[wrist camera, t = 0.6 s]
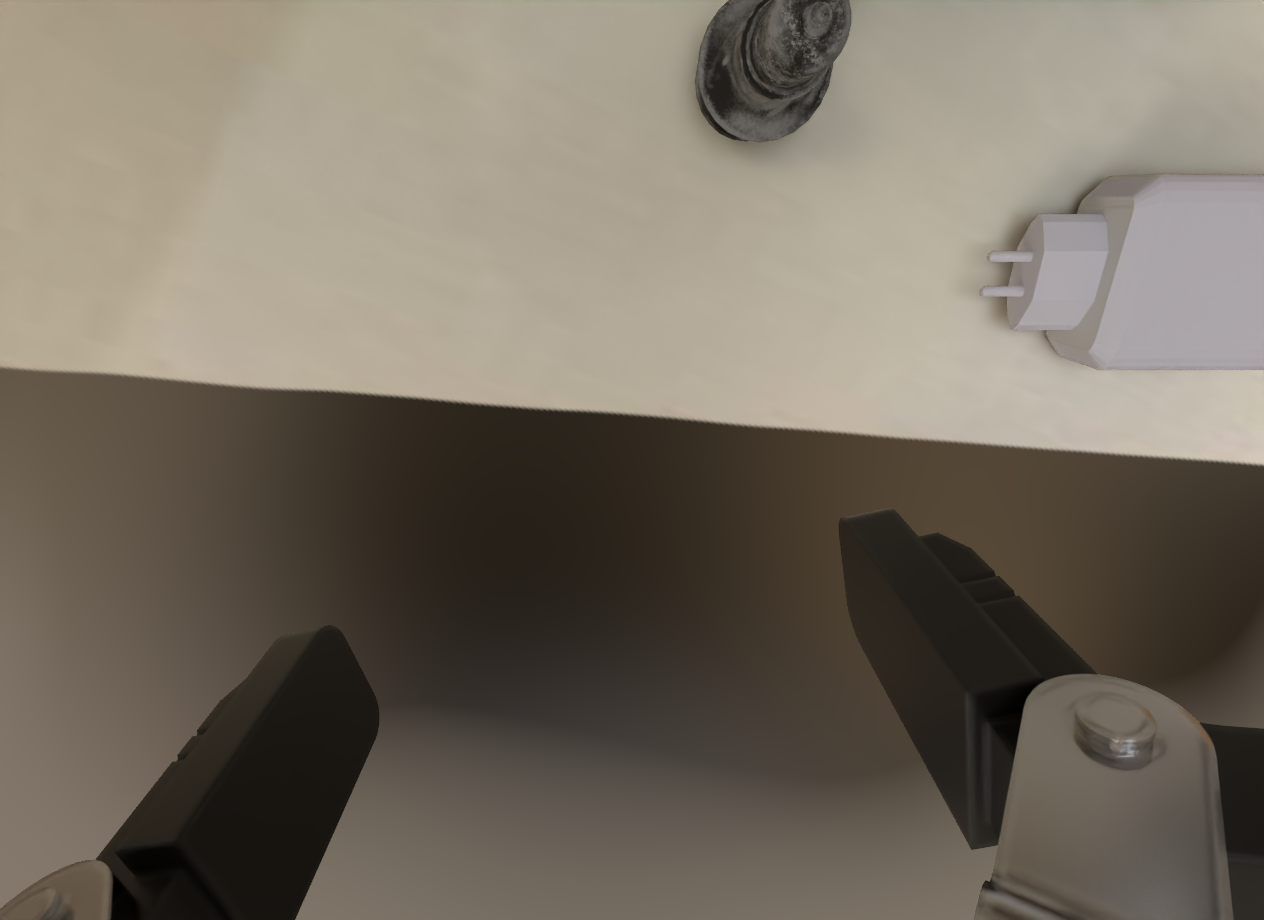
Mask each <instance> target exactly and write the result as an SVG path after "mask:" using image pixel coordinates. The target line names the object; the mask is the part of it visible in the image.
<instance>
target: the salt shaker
mask: <svg viewBox="0 0 1264 920" xmlns="http://www.w3.org/2000/svg"><path fill="white" fill-rule="evenodd" d="M850 27H851V8H850V3H849V0H729V1H728V2H726V3H725V4H724V5H723V6H722V7H721V8H720V9H719V10H718V12H717V13H716V15H715V16H714V18H713V19H712V21H711V22H710V24H709V25H708V27H707V30H706V33H705V35H704V38H703V41H702V43H701V46H700V53H699V60H698V65H697V72H696V79H695V83H696V95H697V99H698V102H699V105H700V108H701V111H702V113H703V115H704V116H705V118H706V119H707V121H708V122H709V124H710V125H711V126H712V127H713V128H714V129H716V130H717V131H718V132H719V133H720V134H722V135H724V136H726V137H728V138H730V139H733V140H740V141H755V142H765V141H771V140H777V139H779V138H782V137H784V136H786V135H788V134H790V133H793V132H794V131H796V130H797V129H798V128H799V127H800V126H802V125H803V124H804V123H805V122H807V121H808V120H809V119H810V117H811V116H812V115H813V113H814V112H815V111H816V109H817V108H818V107H819V105H820V104H821V102H822V99H823V97H824V95H825V93H826V91H827V88H828V86H829V82H830V77H831V72H832V68H833V62H834V61H835V59H836V58H837V57H838V55H839V54H840V53H841V51H842V49H843V47H844V45H845V43H846V41H847V38H848V36H849V31H850Z"/></svg>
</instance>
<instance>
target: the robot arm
mask: <svg viewBox="0 0 1264 920" xmlns="http://www.w3.org/2000/svg"><path fill="white" fill-rule="evenodd" d="M839 537H840V546H841V555H842V563H843V572H844V581H845V590H846V598H847V605H848V610H849V615H850V618H851V622H852V625H853V628H854V631H855V634H856V636H857V638H858V641H859V643H860V645H861V647H862V649H863V651H864V652H865V654H866V656H867V658H868V660H869V662H870V664H871V665H872V667H873V669H874V671H875V673H876V674H877V676H878V678H879V680H880V682H881V684H882V685H883V687H884V689H885V691H886V693H887V695H888V697H889V699H890V700H891V702H892V704H893V706H894V708H895V709H896V711H897V713H898V715H899V717H900V719H901V721H902V722H903V724H904V726H905V728H906V730H907V732H908V734H909V735H910V737H911V739H912V741H913V743H914V745H915V746H916V748H917V750H918V752H919V754H920V756H921V758H922V759H923V761H924V763H925V765H926V767H927V769H928V770H929V772H930V774H931V776H932V778H933V780H934V781H935V783H936V785H937V787H938V789H939V791H940V793H941V794H942V796H943V798H944V800H945V802H946V804H947V805H948V807H949V809H950V811H951V813H952V815H953V817H954V818H955V820H956V822H957V824H958V826H959V828H960V829H961V831H962V833H963V835H964V837H965V838H966V841H967V842H968V844H969V846H970V848H971V849H972V850H973V849H979V848H984V847H990V846H996V845H998V849H997V854H996V860H995V865H994V869H993V874H992V877H991V880H990V882H988V881H985V882H984V884H983V886H982V889H981V892H980V895H979V899H978V903H977V907H976V911H975V916H974V920H1264V729H1259V728H1246V727H1232V726H1221V725H1212V724H1205V723H1200V722H1198V721H1197V720H1196V719H1195V718H1194V717H1193V716H1191V714H1190V713H1188V712H1187V711H1186V710H1185V709H1183V708H1182V707H1181V706H1179V705H1178V704H1177V703H1175V702H1173V701H1172V700H1170V699H1168V698H1167V697H1165V696H1163V695H1162V694H1160V693H1157V692H1155V691H1153V690H1151V689H1149V688H1147V687H1144V686H1142V685H1139V684H1136V683H1133V682H1130V681H1127V680H1123V679H1119V678H1115V677H1109V676H1104V675H1098V674H1097V673H1096V672H1095V671H1094V670H1093V669H1092V668H1091V667H1090V666H1089V665H1088V664H1087V663H1086V662H1085V661H1084V660H1083V659H1082V658H1081V657H1080V656H1079V655H1078V654H1077V653H1076V652H1075V651H1074V650H1073V649H1072V648H1071V647H1070V646H1069V645H1068V644H1067V643H1066V642H1065V641H1064V640H1063V639H1062V638H1061V637H1060V636H1059V635H1058V634H1057V633H1056V632H1055V631H1054V630H1053V629H1052V628H1051V627H1050V626H1049V625H1048V624H1047V623H1046V622H1045V621H1044V620H1043V619H1042V618H1041V617H1040V616H1039V615H1038V614H1037V613H1036V612H1035V611H1034V610H1033V609H1032V608H1031V607H1030V606H1029V605H1028V604H1027V603H1025V601H1024V600H1023V599H1022V598H1021V597H1020V596H1015V594H1014V590H1012V588H1010V587H1009V585H1008V584H1006V582H1004V580H1002V578H1000V576H995V573H994V571H993V570H992V569H991V568H990V567H989V566H988V565H987V564H986V563H985V562H984V561H983V560H982V559H981V558H980V557H979V556H978V555H977V554H976V553H975V552H974V551H973V550H972V549H971V548H969V547H967V546H965V545H962V544H960V543H959V542H956V541H954V540H952V539H950V538H948V537H946V536H944V535H942V534H939V533H934V534H929V535H925V536H920V537H918V536H917V534H916V533H915V532H914V531H913V530H912V529H911V528H910V527H909V525H908V524H907V523H906V522H905V521H904V520H903V519H902V517H901V516H900V515H899V514H898V513H897V512H896V511H895V510H894V509H892V508H887V509H882V510H877V511H873V512H868V513H863V514H858V515H854V516H849V517H844V518H841V519H840V521H839ZM378 727H379V708H378V703H377V700H376V697H375V695H374V692H373V691H372V689H371V687H370V685H369V683H368V681H367V679H366V677H365V675H364V673H363V671H362V669H361V668H360V666H359V664H358V662H357V660H356V658H355V656H354V654H353V652H352V650H351V648H350V646H349V644H348V642H347V640H346V639H345V637H344V635H343V633H342V632H341V631H340V630H339V629H338V628H336V627H334V626H331V625H328V626H323V627H318V628H313V629H309V630H304V631H299V632H294V633H290V634H285V635H283V636H280V637H279V638H278V639H277V640H276V641H275V642H274V643H273V645H272V646H271V647H270V648H269V650H268V651H267V652H266V654H265V655H264V656H263V658H262V659H261V660H260V661H259V663H258V664H257V665H256V667H255V668H254V669H253V671H252V672H251V673H250V675H249V676H248V677H247V678H246V679H245V680H244V681H243V682H242V683H241V684H239V685H238V686H237V687H236V688H235V689H234V690H232V691H231V692H230V693H229V694H228V695H227V696H226V697H224V698H223V699H222V700H221V701H220V702H219V703H218V705H217V706H216V707H215V708H214V710H213V711H212V712H211V713H210V715H209V716H208V717H207V718H206V720H205V721H204V722H203V724H202V725H201V726H200V727H199V729H198V730H197V732H198V734H197V736H193V737H192V738H191V739H190V740H189V741H188V743H187V744H186V745H185V746H184V748H183V749H182V750H181V752H180V753H179V754H178V755H177V756H178V760H177V761H176V762H172V763H171V764H170V766H169V767H168V768H167V769H166V771H165V772H164V773H163V775H162V776H161V777H160V778H159V780H158V781H157V782H156V783H155V785H154V786H153V787H152V788H151V790H150V791H149V792H148V793H147V795H146V796H145V797H144V799H143V800H142V801H141V802H140V804H139V805H138V806H137V807H136V809H135V810H134V811H133V813H132V814H131V815H130V816H129V818H128V819H127V820H126V822H125V823H124V824H123V825H122V827H121V828H120V829H119V830H118V832H117V833H116V834H115V835H114V837H113V838H112V839H111V841H110V842H109V843H108V844H107V846H106V847H105V848H104V850H103V851H102V852H101V853H100V855H99V856H98V857H97V859H96V860H86V861H82V862H77V863H74V864H71V865H68V866H66V867H64V868H61V869H59V870H57V871H55V872H53V873H51V874H49V875H47V876H46V877H44V878H42V879H40V880H39V881H37V882H36V883H34V884H33V885H31V886H29V887H28V888H26V889H25V890H24V891H22V892H21V893H20V894H19V895H17V896H16V897H14V898H13V899H12V900H10V901H9V902H8V903H7V904H6V905H4V906H3V907H2V908H1V909H0V920H295V919H296V916H297V914H298V912H299V910H300V907H301V905H302V902H303V900H304V898H305V896H306V894H307V891H308V889H309V887H310V885H311V882H312V880H313V878H314V876H315V873H316V871H317V869H318V867H319V864H320V862H321V860H322V858H323V856H324V853H325V851H326V849H327V846H328V844H329V842H330V840H331V838H332V835H333V833H334V831H335V829H336V826H337V824H338V822H339V820H340V817H341V815H342V813H343V811H344V808H345V806H346V804H347V802H348V799H349V797H350V795H351V793H352V790H353V788H354V786H355V784H356V781H357V779H358V777H359V774H360V772H361V770H362V768H363V766H364V764H365V761H366V759H367V757H368V755H369V752H370V750H371V748H372V746H373V743H374V741H375V739H376V736H377V732H378Z"/></svg>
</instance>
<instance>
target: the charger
mask: <svg viewBox="0 0 1264 920" xmlns="http://www.w3.org/2000/svg"><path fill="white" fill-rule="evenodd" d="M987 259H988V261H989V262H1014V264H1013V268H1012V273H1011V277H1010V281H1009V285H1008V286H983V287H982V288H981V289H980V295H981V296H982V297H1007V314H1008V322H1009V325H1010V327H1011V330H1047V338H1048V340H1049V341H1050V343H1051V344H1052V346H1053V347H1054V349H1055V350H1056V352H1057V353H1058V354H1059V355H1060V356H1061V357H1064V358H1067V359H1070V360H1072V361H1075V362H1078V363H1081V364H1084V365H1086V366H1089V367H1092V368H1095V369H1098V370H1264V175H1231V174H1148V175H1127V176H1110V177H1108V178H1106V179H1105V180H1104V181H1102V182H1101V183H1100V184H1099V185H1098V186H1097V187H1096V188H1095V189H1094V190H1093V191H1091V192H1090V193H1089V194H1088V195H1087V196H1086V197H1085V198H1084V199H1083V200H1082V202H1081V204H1080V206H1079V208H1078V211H1077V214H1039V215H1038V216H1037V217H1036V218H1035V219H1034V220H1033V221H1032V222H1031V224H1030V226H1029V227H1028V229H1027V231H1026V233H1025V235H1024V237H1023V239H1022V241H1021V242H1020V244H1019V246H1018V248H1017V251H991V252H990V253H989V254H988V256H987Z"/></svg>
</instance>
